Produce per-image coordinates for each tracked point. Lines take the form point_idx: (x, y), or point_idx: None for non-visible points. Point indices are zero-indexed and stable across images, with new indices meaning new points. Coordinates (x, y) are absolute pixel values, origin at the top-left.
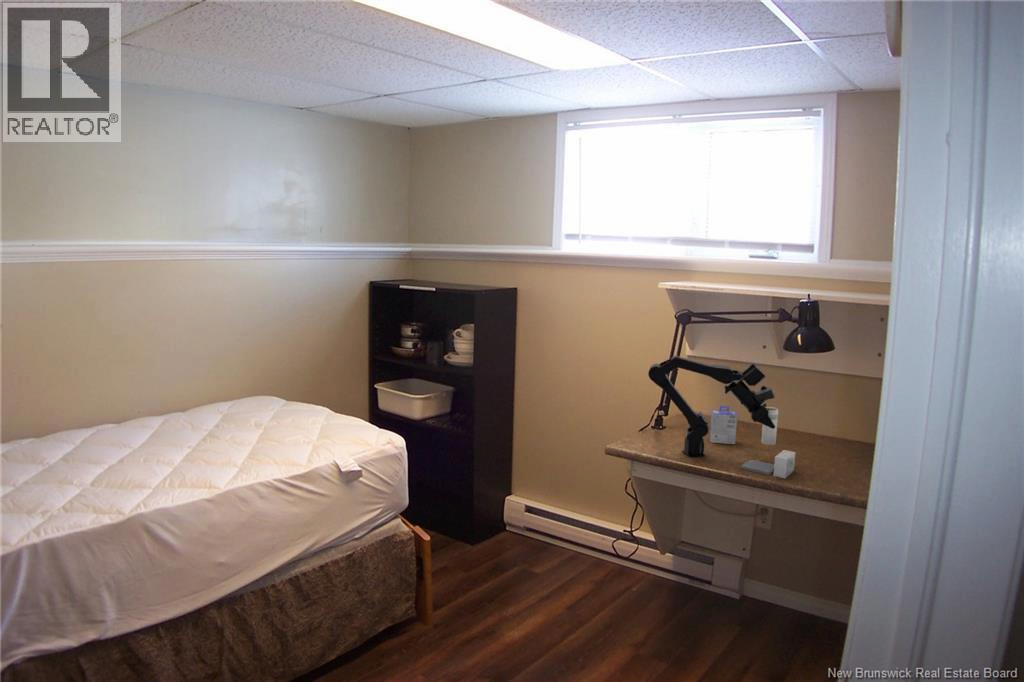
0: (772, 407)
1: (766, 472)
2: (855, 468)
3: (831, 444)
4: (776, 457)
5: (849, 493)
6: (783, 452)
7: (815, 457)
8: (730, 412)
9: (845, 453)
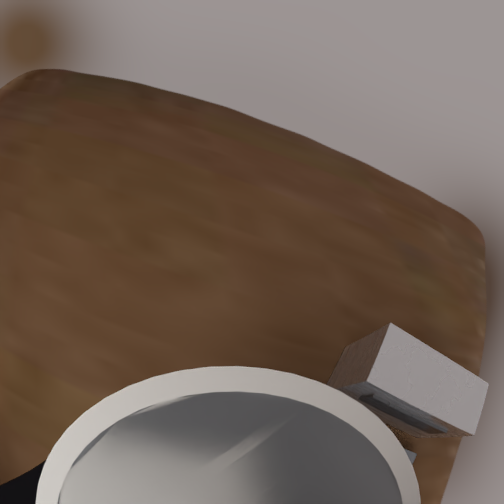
0: (59, 468)
1: (411, 463)
2: (254, 129)
3: (23, 122)
4: (474, 428)
5: (472, 236)
6: (411, 389)
7: (135, 198)
8: None
9: (104, 109)
